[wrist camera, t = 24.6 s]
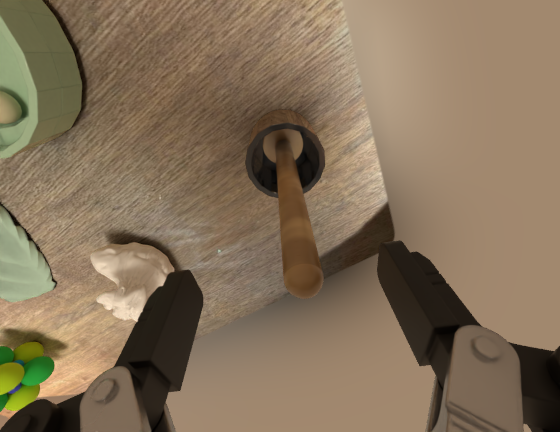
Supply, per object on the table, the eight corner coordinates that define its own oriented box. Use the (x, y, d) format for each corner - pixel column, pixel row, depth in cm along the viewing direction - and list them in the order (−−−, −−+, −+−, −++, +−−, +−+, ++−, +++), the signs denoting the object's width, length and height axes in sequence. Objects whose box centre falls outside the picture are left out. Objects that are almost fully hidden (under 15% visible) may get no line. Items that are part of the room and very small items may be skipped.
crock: (311, 103, 24) (322, 116, 19) (316, 168, 28) (326, 192, 23) (243, 115, 25) (237, 130, 20) (257, 177, 28) (255, 203, 23)
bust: (188, 266, 39) (206, 294, 30) (154, 306, 37) (161, 349, 28) (121, 220, 34) (116, 235, 24) (77, 263, 32) (52, 299, 22)
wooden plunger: (301, 118, 24) (368, 252, 8) (300, 156, 27) (351, 322, 10) (261, 120, 24) (247, 258, 8) (264, 158, 27) (257, 326, 10)
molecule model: (15, 377, 46) (35, 410, 43) (-56, 395, 38) (-40, 437, 35) (43, 335, 47) (64, 363, 44) (-21, 343, 39) (-1, 378, 36)
